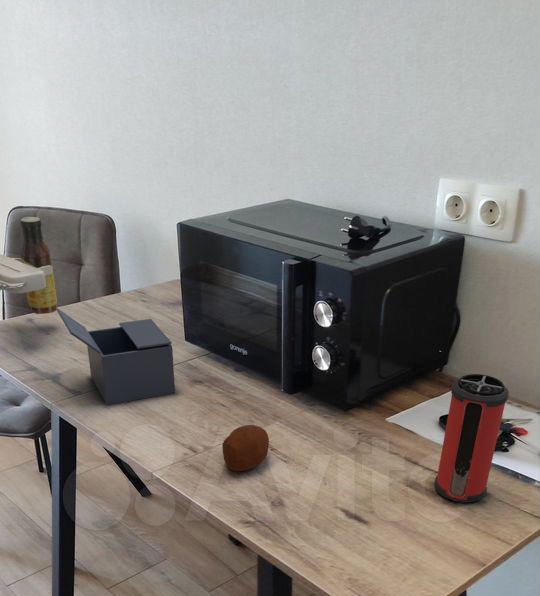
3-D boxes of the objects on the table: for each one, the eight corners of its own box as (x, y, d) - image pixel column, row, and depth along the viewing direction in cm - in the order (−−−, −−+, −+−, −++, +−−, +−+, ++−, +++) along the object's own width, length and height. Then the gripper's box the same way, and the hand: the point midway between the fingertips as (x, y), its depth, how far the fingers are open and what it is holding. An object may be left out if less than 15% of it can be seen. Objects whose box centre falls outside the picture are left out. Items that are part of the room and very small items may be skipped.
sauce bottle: (27, 307, 158) (11, 215, 148) (55, 304, 161) (42, 213, 150) (32, 317, 153) (16, 222, 143) (61, 313, 156) (47, 220, 145)
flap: (101, 352, 123) (100, 354, 123) (85, 327, 133) (84, 329, 133) (71, 332, 119) (70, 333, 119) (57, 307, 129) (56, 309, 129)
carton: (107, 405, 129) (101, 352, 123) (91, 377, 139) (84, 327, 133) (175, 393, 133) (172, 342, 128) (154, 367, 143) (151, 318, 138)
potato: (209, 465, 112) (208, 429, 109) (252, 445, 118) (252, 410, 114) (239, 482, 108) (239, 446, 104) (281, 461, 114) (283, 425, 110)
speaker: (428, 496, 106) (448, 388, 96) (440, 472, 112) (459, 367, 102) (480, 509, 103) (505, 399, 93) (489, 483, 109) (513, 377, 99)
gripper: (4, 273, 136) (65, 260, 145) (-46, 252, 148) (14, 241, 156) (9, 305, 139) (69, 290, 148) (-40, 282, 151) (19, 269, 160)
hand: (40, 265), depth 152 cm, fingers closed on sauce bottle, 6 cm apart
